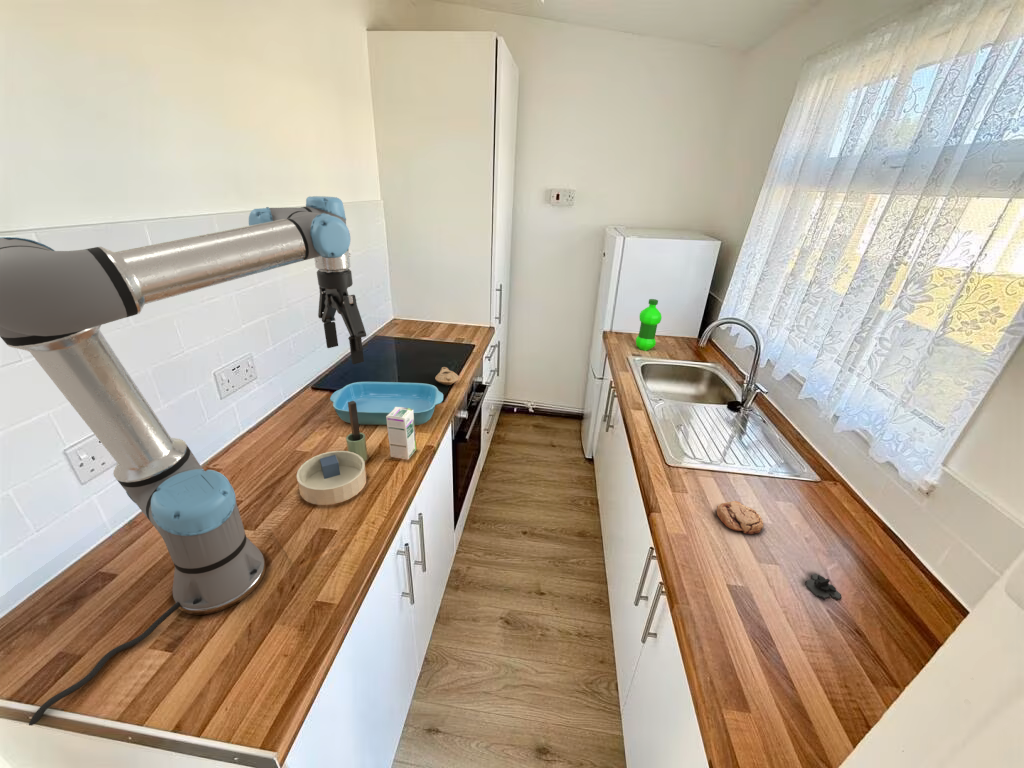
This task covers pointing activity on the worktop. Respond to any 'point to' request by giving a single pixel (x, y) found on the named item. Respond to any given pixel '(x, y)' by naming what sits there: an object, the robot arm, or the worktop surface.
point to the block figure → (822, 587)
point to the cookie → (739, 517)
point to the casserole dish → (386, 401)
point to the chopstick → (354, 420)
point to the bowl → (332, 479)
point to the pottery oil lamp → (446, 376)
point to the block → (329, 466)
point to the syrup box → (401, 432)
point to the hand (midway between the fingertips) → (344, 354)
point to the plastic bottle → (648, 326)
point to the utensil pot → (357, 446)
